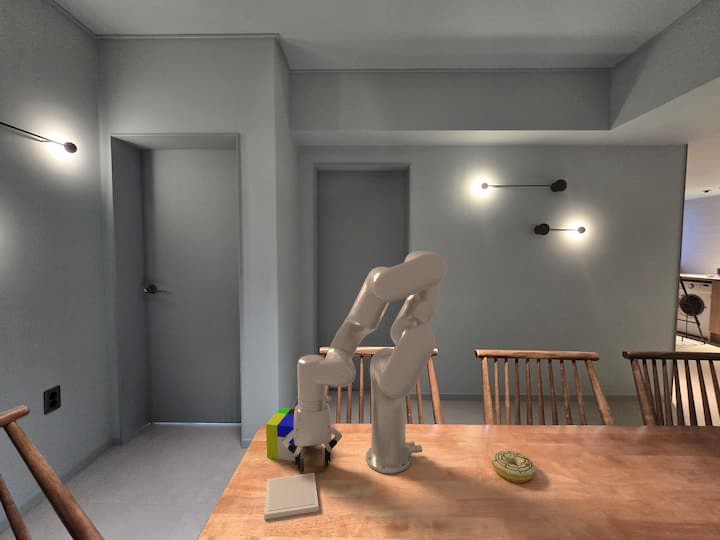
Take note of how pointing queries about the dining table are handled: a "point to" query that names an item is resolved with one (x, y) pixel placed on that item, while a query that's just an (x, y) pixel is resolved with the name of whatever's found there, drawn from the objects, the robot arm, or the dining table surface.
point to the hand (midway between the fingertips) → (313, 464)
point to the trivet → (290, 496)
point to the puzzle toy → (280, 435)
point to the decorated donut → (513, 466)
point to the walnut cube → (313, 459)
